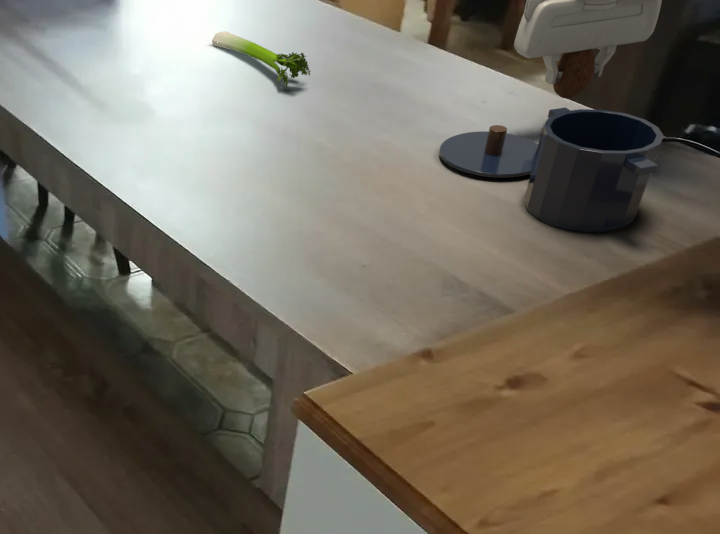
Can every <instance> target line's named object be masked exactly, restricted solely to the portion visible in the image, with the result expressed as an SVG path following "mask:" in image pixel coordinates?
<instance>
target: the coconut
mask: <svg viewBox="0 0 720 534" xmlns="http://www.w3.org/2000/svg"><path fill="white" fill-rule="evenodd" d="M595 58H596V57H595V53H594V50H593V49H589V50H583V51H576V52H569V53H562V55H561V57H560V60H559V61H558V63H557V68H558V69H559V70H561V71H563V75H562V77H561V82H560V83H555V84H552V88H553V90H554V93H555V94H556V95H557V96H559V97H560V98H562V99H572V98H574V97H576V96H578V95H579V94H581V93H582V92H583V91H584V90H585V89H586V88H587V87H588V86H589V85H590V83H591V81H592V80H593V78H592V77H593V74H594V68H595Z"/></svg>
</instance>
